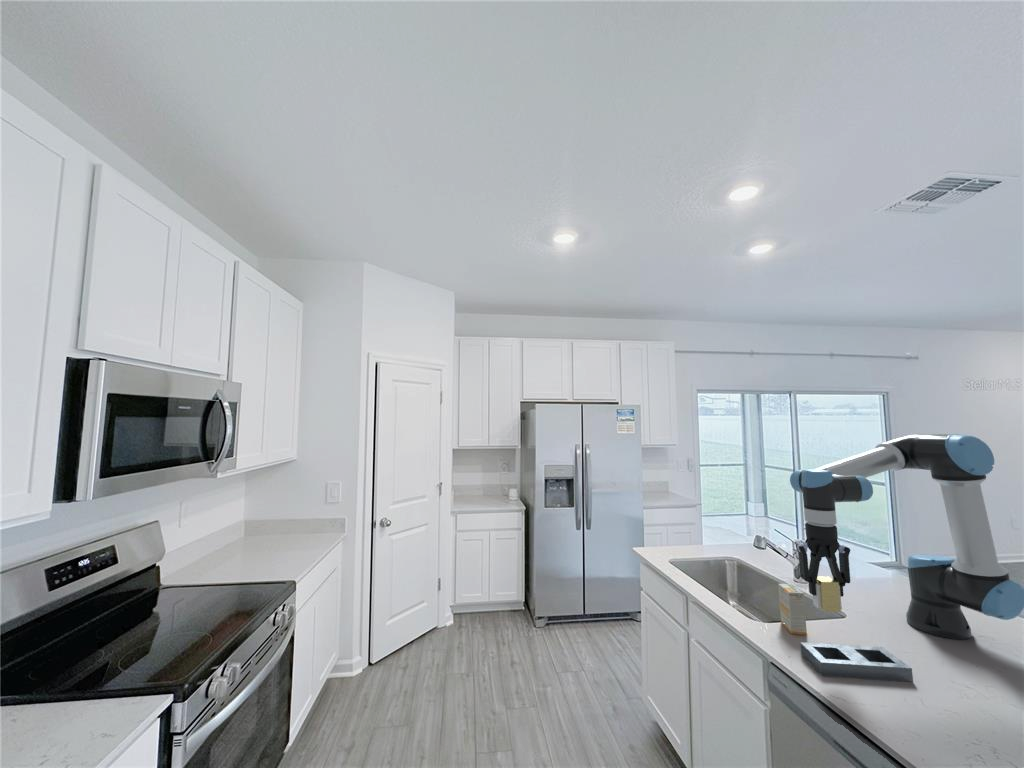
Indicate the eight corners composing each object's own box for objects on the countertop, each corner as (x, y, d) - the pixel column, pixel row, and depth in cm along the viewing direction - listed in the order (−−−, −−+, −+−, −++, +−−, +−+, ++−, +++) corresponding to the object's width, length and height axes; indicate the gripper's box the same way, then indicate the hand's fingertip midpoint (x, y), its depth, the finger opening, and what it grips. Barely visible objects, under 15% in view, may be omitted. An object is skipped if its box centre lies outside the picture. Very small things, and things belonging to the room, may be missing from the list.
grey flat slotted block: (884, 660, 120) (882, 647, 120) (913, 682, 110) (911, 668, 110) (801, 654, 123) (800, 642, 124) (822, 675, 113) (820, 662, 113)
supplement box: (807, 635, 134) (804, 593, 136) (791, 634, 135) (788, 592, 137) (796, 623, 142) (793, 583, 144) (780, 622, 143) (777, 582, 145)
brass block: (831, 605, 121) (828, 576, 121) (840, 612, 116) (838, 582, 117) (814, 604, 121) (812, 575, 122) (823, 611, 117) (821, 581, 118)
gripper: (845, 521, 123) (852, 603, 121) (781, 519, 126) (787, 600, 124) (862, 527, 116) (870, 614, 114) (794, 525, 119) (800, 611, 116)
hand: (827, 607), depth 119 cm, fingers closed on brass block, 4 cm apart
